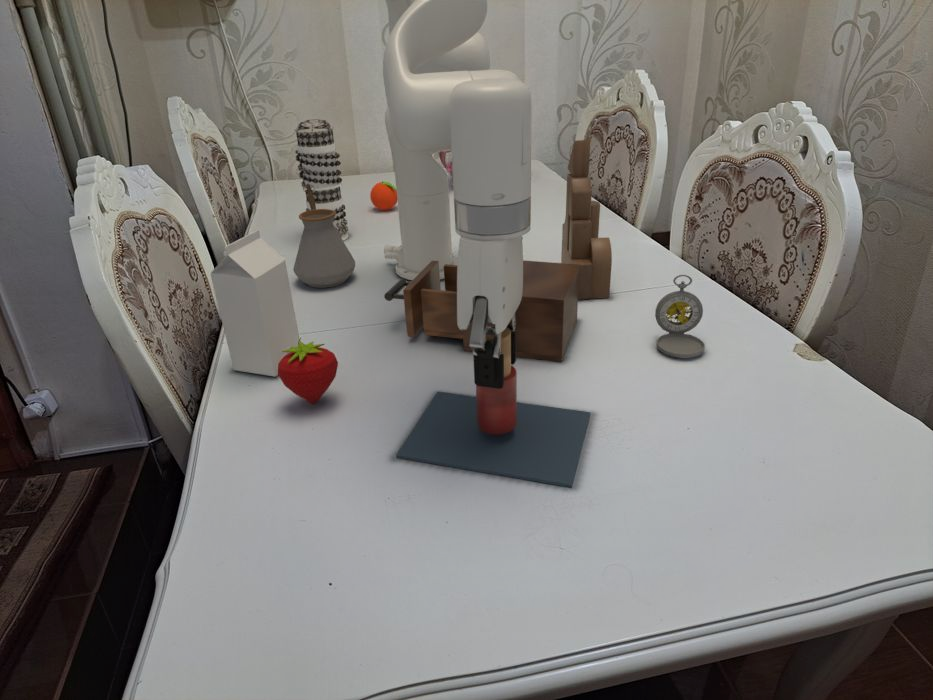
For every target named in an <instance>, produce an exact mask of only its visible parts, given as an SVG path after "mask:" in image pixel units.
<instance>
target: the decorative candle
mask: <svg viewBox="0 0 933 700" xmlns="http://www.w3.org/2000/svg"><path fill="white" fill-rule="evenodd" d="M333 129H335V127H334V126H332V125H331V124H330V123H329V121H327V120H326V119H320V118H319V119H318V118H317V119H315V118H314V119H306V120H302V121H300V122H299V123H298V125H297V128H296V129H294V132H295V135H296V142H297V146H296V147H297V150H294V153H295V154H296V155H295V160H296V161H297V162H298V163H299V164H298V165H297V168H298V169H297V170H298V171H299V173H298V174H299V178H300V179H302V182H301V188H303V187H304V186H305V185H307V184H309V185H313V186H314V187H315V189H314V187H313V186H311V189H312V190H314V191H313V193H312V194H313V196H314V198H315V205H316V209H329V210H333V211H336V212H337V213H336V215H335V217H334V220H333V225H334V227H335V228H336V230H337V232H338V233H339V235H340V237H341V238H342V240H343V241H346V240H347V239H348V238H349V233H348V231H349V227H348V226H347V225H348V220H347V219H346V218H345V217H347V212H346V211H344V210H346V205H345V204H344V202H343V196H342V192H341V186H342V181H343V179H342V177H340V176H341V175H342V171H341V170H339V169H338V167H339V166H340V165H341V164H342V162H341V161H340V160H338V159H339V158H340V157H341V154H339V153H338V152H336V149H337V148H336V142H335V139H334V138H335V137H334V132H333ZM306 190H307V188H306V187H304V192H305V191H306ZM305 198H306V200H305V204H306V208H305V211H309V210H311V207H310V204H309V201H308V194H307V192H305Z"/></svg>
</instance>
